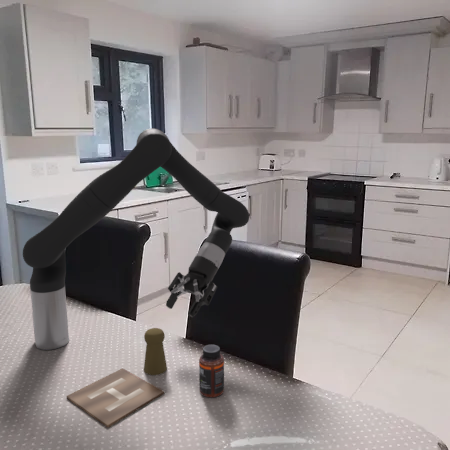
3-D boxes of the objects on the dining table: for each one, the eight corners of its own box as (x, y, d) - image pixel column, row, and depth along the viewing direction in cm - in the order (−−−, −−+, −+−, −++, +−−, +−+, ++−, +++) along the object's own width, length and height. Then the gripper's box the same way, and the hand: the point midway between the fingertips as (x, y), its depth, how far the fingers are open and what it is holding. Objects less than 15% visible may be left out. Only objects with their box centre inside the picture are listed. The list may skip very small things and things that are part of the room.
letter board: (66, 398, 101) (66, 395, 101) (122, 370, 113) (122, 368, 113) (107, 427, 91) (107, 425, 91) (164, 393, 103) (164, 391, 103)
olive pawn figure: (162, 376, 111) (161, 336, 108) (140, 373, 112) (138, 334, 109) (170, 364, 116) (169, 326, 114) (148, 361, 118) (147, 324, 115)
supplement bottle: (227, 387, 106) (227, 344, 104) (219, 401, 101) (219, 356, 98) (204, 382, 108) (204, 340, 106) (195, 395, 103) (195, 352, 100)
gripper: (182, 250, 126) (154, 298, 120) (220, 259, 118) (191, 312, 111) (195, 263, 131) (168, 310, 125) (232, 273, 123) (205, 324, 116)
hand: (179, 311), depth 118 cm, fingers open, 8 cm apart
